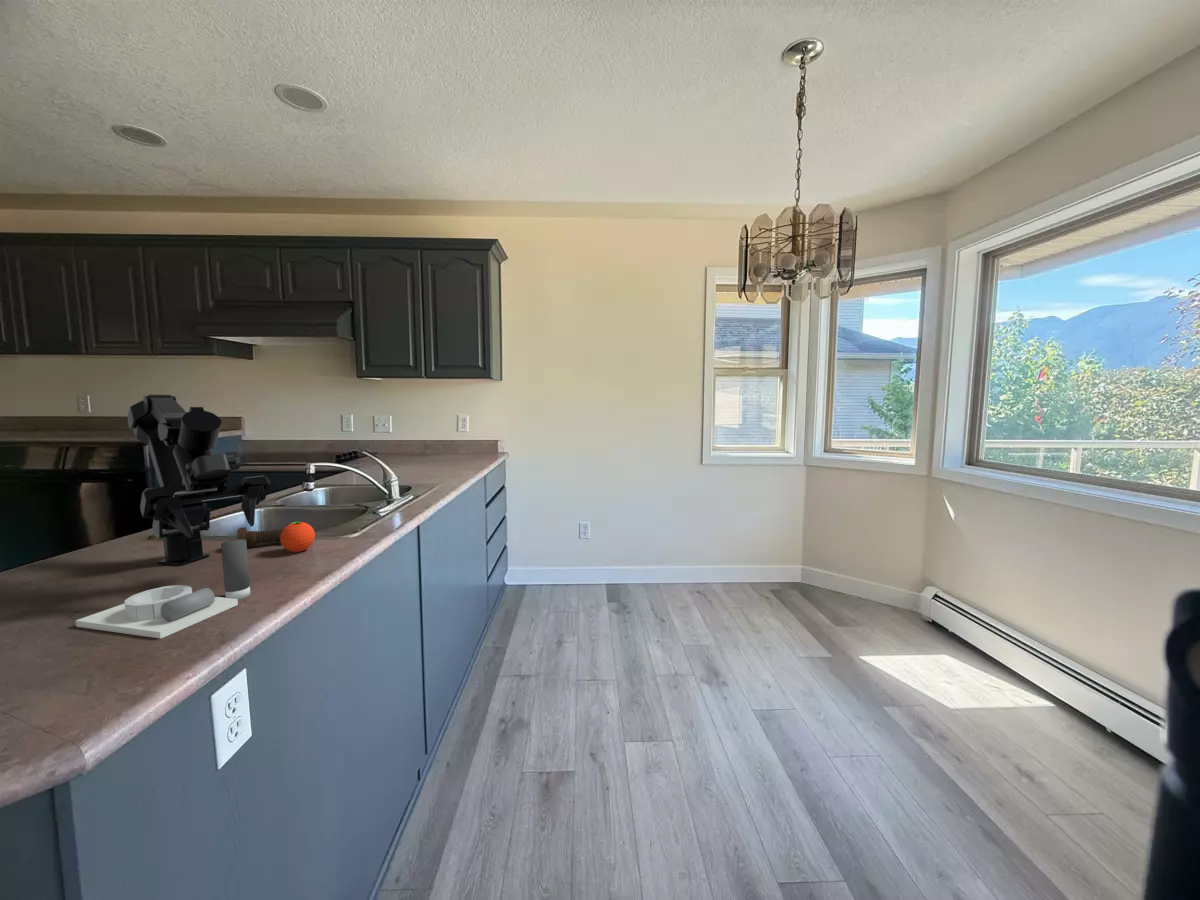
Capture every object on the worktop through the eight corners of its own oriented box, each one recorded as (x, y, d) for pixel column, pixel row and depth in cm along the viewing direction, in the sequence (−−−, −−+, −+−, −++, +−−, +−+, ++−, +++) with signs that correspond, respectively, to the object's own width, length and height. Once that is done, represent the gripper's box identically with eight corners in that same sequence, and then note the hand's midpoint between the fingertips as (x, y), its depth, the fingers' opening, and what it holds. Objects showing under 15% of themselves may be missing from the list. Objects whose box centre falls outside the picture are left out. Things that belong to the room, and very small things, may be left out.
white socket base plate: (76, 626, 74) (73, 602, 74) (161, 595, 86) (159, 574, 85) (160, 638, 70) (158, 612, 70) (237, 604, 82) (236, 582, 82)
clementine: (274, 551, 111) (271, 521, 110) (306, 544, 116) (304, 515, 116) (288, 558, 106) (286, 527, 105) (321, 550, 112) (319, 520, 111)
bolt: (312, 547, 120) (238, 555, 112) (311, 533, 124) (239, 540, 115) (312, 530, 117) (236, 538, 109) (311, 517, 121) (237, 523, 113)
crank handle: (220, 599, 84) (215, 544, 83) (239, 591, 88) (235, 538, 87) (236, 601, 84) (232, 546, 82) (255, 592, 87) (251, 540, 86)
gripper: (137, 442, 81) (161, 514, 76) (263, 436, 96) (290, 495, 91) (131, 483, 86) (153, 553, 81) (251, 471, 102) (276, 529, 96)
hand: (223, 530), depth 87 cm, fingers open, 9 cm apart
